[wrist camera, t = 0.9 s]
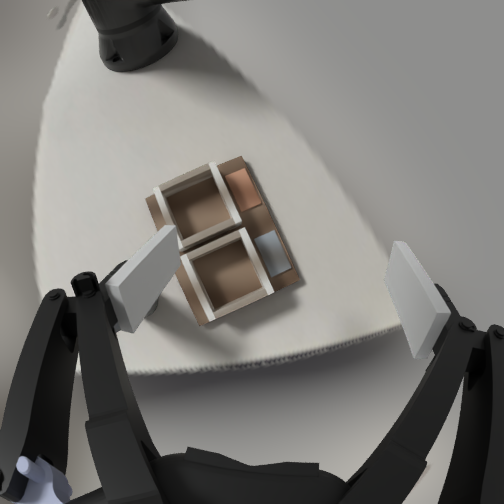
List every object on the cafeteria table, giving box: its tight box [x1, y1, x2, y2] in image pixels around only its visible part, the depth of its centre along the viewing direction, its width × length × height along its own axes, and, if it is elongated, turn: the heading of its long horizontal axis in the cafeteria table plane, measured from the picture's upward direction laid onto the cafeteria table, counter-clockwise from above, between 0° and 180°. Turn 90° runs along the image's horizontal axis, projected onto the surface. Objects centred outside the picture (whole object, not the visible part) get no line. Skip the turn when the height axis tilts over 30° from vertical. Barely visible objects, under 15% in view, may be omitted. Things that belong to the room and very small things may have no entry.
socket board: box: [146, 156, 300, 326], centre depth 33 cm, size 18×14×4 cm
